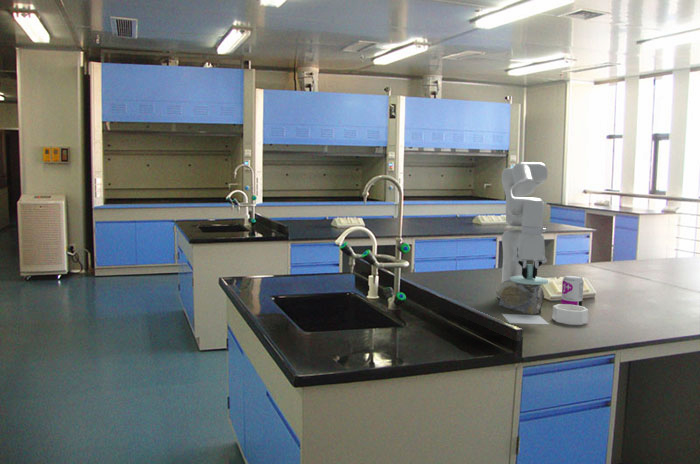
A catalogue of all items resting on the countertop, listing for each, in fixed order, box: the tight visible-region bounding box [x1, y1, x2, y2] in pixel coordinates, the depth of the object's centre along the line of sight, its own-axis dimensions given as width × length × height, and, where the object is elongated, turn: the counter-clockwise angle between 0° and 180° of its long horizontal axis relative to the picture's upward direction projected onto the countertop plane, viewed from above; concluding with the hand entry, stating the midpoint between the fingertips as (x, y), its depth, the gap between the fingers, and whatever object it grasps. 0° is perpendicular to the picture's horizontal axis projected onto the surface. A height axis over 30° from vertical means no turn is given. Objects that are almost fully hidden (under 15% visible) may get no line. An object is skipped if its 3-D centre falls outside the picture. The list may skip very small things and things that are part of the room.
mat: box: [501, 313, 550, 325], centre depth 228 cm, size 14×15×1 cm
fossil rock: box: [495, 280, 545, 315], centre depth 245 cm, size 20×10×15 cm, turn 32°
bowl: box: [551, 303, 589, 326], centre depth 227 cm, size 12×12×6 cm
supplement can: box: [560, 274, 585, 306], centre depth 242 cm, size 8×8×15 cm
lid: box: [510, 263, 549, 286], centre depth 226 cm, size 14×14×6 cm
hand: (529, 277), depth 226 cm, fingers closed on lid, 2 cm apart
